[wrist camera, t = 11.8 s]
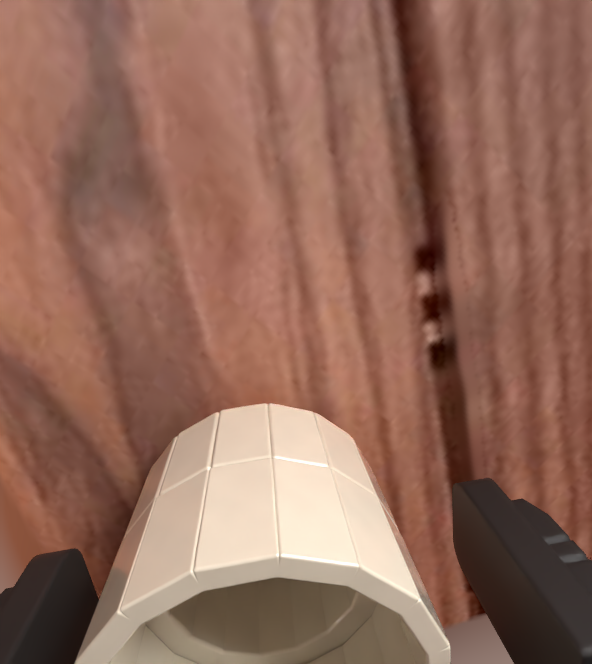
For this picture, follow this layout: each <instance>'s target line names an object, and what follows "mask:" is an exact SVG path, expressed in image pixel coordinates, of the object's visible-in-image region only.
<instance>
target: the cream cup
mask: <svg viewBox="0 0 592 664" xmlns="http://www.w3.org/2000/svg"><path fill="white" fill-rule="evenodd" d="M450 651H451V649H450V644H449V641H448V639H447V636H446V635H445V632H444V630H443V627H442V625H441V623H440V621H439V618H438V616H437V614H436V612H435V610H434V607H433V605H432V603H431V601H430V598H429V596H428V594H427V592H426V589H425V587H424V585H423V583H422V580H421V578H420V576H419V574H418V572H417V569H416V567H415V565H414V563H413V560H412V558H411V556H410V554H409V551H408V549H407V547H406V545H405V542H404V540H403V538H402V536H401V534H400V532H399V530H398V527H397V525H396V523H395V520H394V518H393V516H392V514H391V511H390V509H389V507H388V505H387V503H386V500H385V498H384V496H383V494H382V491H381V489H380V487H379V485H378V482H377V480H376V478H375V476H374V473H373V471H372V469H371V467H370V465H369V464H368V462H367V460H366V459H365V457H364V456H363V454H362V452H361V451H360V449H359V447H358V446H357V444H356V442H355V441H354V439H353V438H351V437H350V435H349V434H348V433H346V432H345V431H343V430H342V429H340V428H339V427H337V426H336V425H334V424H333V423H331V422H330V421H328V420H326V419H325V418H323V417H322V416H320V415H319V414H317V413H314V412H312V411H308V410H303V409H298V408H293V407H288V406H283V405H278V404H273V403H269V404H268V405H267V404H266V403H262V404H256V405H250V406H244V407H237V408H231V409H225V410H221V411H220V413H219V412H216V413H214V414H212V415H210V416H209V417H207V418H205V419H203V420H202V421H200V422H198V423H196V424H195V425H193V426H191V427H189V428H188V429H186V430H184V431H182V432H181V433H179V435H178V436H176V437H175V438H174V439H173V440H172V441H171V443H170V444H169V445H168V447H167V448H166V449H165V450H164V452H163V453H162V454H161V456H160V457H159V458H158V460H157V461H156V462H155V463H154V465H153V466H152V467H151V470H150V472H149V473H148V476H147V478H146V481H145V484H144V486H143V489H142V491H141V494H140V496H139V499H138V502H137V504H136V507H135V509H134V512H133V514H132V517H131V520H130V522H129V525H128V527H127V530H126V532H125V535H124V538H123V540H122V543H121V545H120V547H119V550H118V553H117V555H116V558H115V560H114V563H113V565H112V568H111V570H110V573H109V576H108V578H107V581H106V583H105V586H104V588H103V591H102V594H101V596H100V599H99V601H98V604H97V606H96V609H95V611H94V614H93V617H92V619H91V622H90V624H89V627H88V629H87V632H86V635H85V637H84V640H83V642H82V645H81V647H80V650H79V652H78V655H77V658H76V660H75V663H74V664H451V653H450Z"/></svg>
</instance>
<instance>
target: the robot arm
mask: <svg viewBox="0 0 592 664" xmlns="http://www.w3.org/2000/svg"><path fill="white" fill-rule="evenodd" d="M452 506H453V542H454V548H455V552H456V555H457V559H458V561H459V564H460V566H461V569H462V571H463V573H464V574H465V576H466V578H467V580H468V582H469V583H470V585H471V587H472V589H473V591H474V592H475V594H476V596H477V598H478V600H479V601H480V603H481V605H482V607H483V609H484V610H485V612H486V614H487V616H488V618H489V619H490V621H491V623H492V625H493V626H494V628H495V630H496V632H497V634H498V635H499V637H500V639H501V641H502V643H503V644H504V646H505V648H506V650H507V652H508V653H509V655H510V657H511V659H512V660H513V662H514V664H592V561H591V560H588V559H587V557H586V554H585V553H584V552H583V551H582V550H581V549H580V548H579V547H578V546H577V545H576V544H575V542H574V541H570V539H569V536H568V535H567V534H566V533H565V532H564V531H563V530H562V529H561V527H560V526H559V525H558V524H557V523H556V522H555V521H554V520H553V519H552V518H551V517H550V516H549V515H548V514H547V513H545V512H543V511H542V510H540V509H538V508H537V507H535V506H534V505H532V504H530V503H529V502H527V501H525V500H524V499H518V500H512V501H511V500H510V499H509V498H508V497H507V495H506V494H505V493H504V492H503V491H502V490H501V488H500V487H499V486H498V485H497V484H496V483H495V482H494V481H493V480H492V479H490V478H484V479H478V480H472V481H467V482H461V483H456V484H454V485H453V489H452ZM98 601H99V599H98V596H97V593H96V591H95V588H94V585H93V583H92V580H91V577H90V575H89V572H88V569H87V566H86V564H85V561H84V558H83V556H82V554H81V552H80V551H79V550H78V549H69V550H63V551H57V552H51V553H46V554H40V555H37V556H35V557H34V558H33V559H32V560H31V561H30V562H29V564H28V565H27V567H26V569H25V570H24V572H23V573H22V575H21V576H20V578H19V579H18V581H17V583H16V584H15V586H14V587H13V588H8V589H5V590H4V591H3V592H2V593H1V594H0V664H74V663H75V660H76V658H77V655H78V652H79V650H80V647H81V645H82V642H83V640H84V637H85V635H86V632H87V629H88V627H89V624H90V622H91V619H92V617H93V614H94V611H95V609H96V606H97V604H98Z"/></svg>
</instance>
